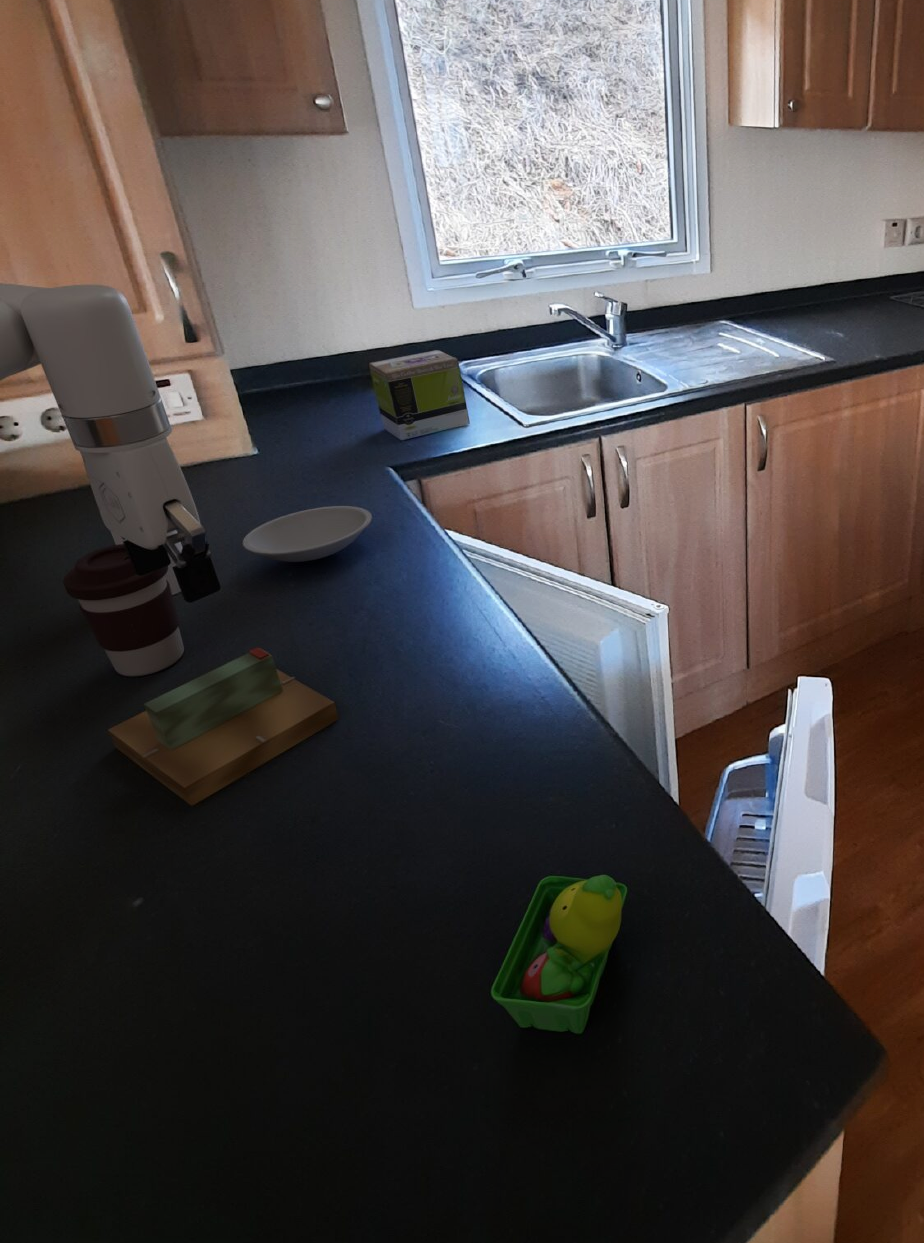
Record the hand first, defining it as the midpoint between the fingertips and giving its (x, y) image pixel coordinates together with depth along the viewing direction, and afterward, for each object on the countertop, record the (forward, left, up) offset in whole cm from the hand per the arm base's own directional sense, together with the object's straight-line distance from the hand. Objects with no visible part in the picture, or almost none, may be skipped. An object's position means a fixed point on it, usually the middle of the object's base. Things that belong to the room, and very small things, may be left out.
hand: (178, 582), depth 87 cm
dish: (+29, +30, -20) cm, 46 cm away
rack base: (0, 0, -20) cm, 20 cm away
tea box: (+75, +64, -20) cm, 100 cm away
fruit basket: (-1, -54, -20) cm, 57 cm away
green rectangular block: (0, 0, -17) cm, 17 cm away
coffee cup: (+2, +22, -20) cm, 30 cm away
